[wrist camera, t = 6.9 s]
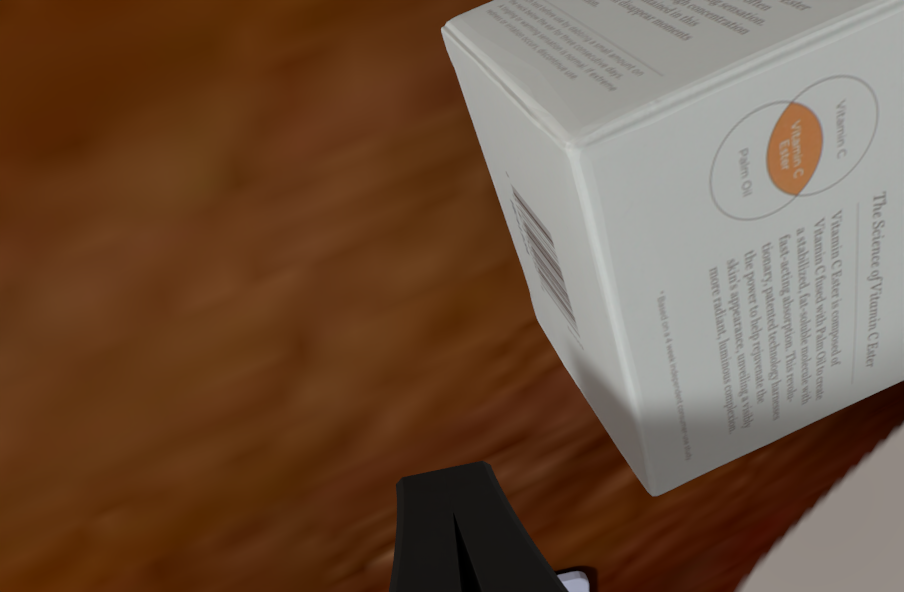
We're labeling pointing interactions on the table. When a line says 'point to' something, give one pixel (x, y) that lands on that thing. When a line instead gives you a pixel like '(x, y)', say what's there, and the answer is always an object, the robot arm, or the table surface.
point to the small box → (700, 207)
